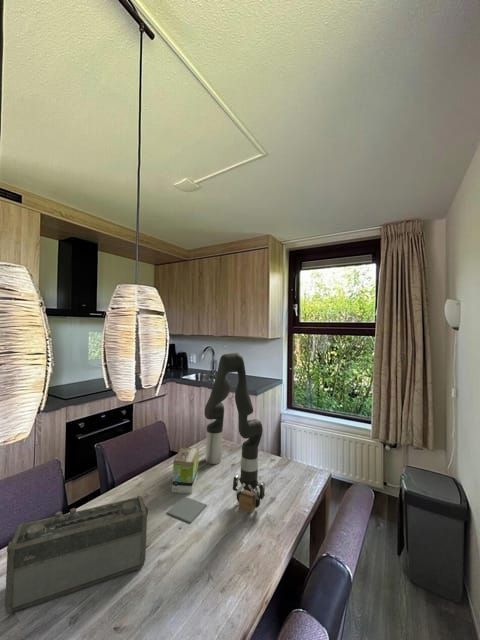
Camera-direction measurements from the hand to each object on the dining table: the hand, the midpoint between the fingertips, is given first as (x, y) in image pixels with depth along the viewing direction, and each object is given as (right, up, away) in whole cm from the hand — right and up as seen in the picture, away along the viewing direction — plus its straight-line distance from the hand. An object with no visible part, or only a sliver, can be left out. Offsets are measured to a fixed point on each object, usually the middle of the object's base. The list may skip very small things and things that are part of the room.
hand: (247, 503), depth 122 cm
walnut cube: (0, -2, 0) cm, 2 cm away
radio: (-53, +1, -34) cm, 63 cm away
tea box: (-30, -1, +15) cm, 34 cm away
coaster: (-26, 0, -3) cm, 26 cm away
